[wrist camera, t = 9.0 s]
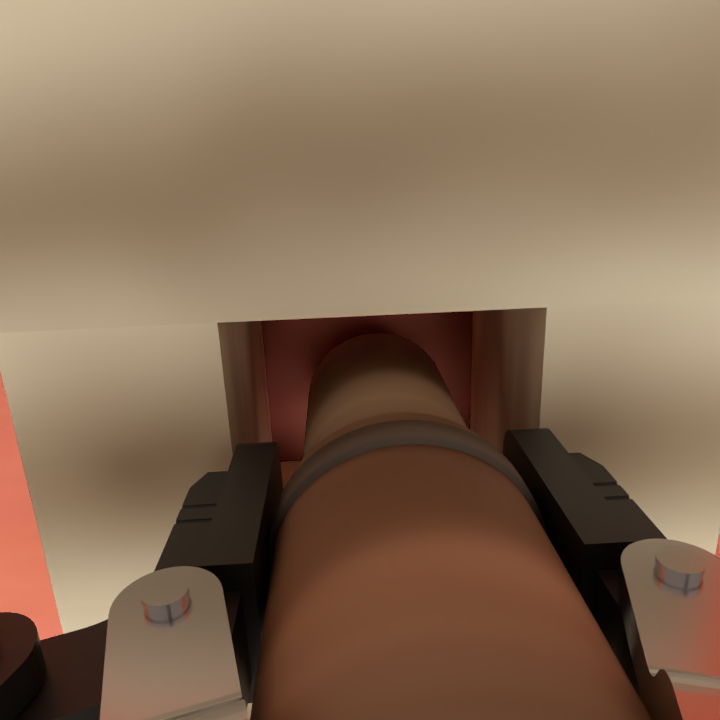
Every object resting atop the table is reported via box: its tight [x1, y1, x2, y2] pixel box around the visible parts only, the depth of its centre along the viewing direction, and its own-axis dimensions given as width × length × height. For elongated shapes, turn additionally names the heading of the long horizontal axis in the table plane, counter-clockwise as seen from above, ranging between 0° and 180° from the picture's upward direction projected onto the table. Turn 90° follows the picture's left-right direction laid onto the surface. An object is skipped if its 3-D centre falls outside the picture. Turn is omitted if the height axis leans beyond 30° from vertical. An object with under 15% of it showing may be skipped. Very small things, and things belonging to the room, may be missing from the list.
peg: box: [250, 333, 652, 720], centre depth 10 cm, size 4×4×12 cm
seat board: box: [0, 0, 720, 720], centre depth 15 cm, size 18×14×6 cm
